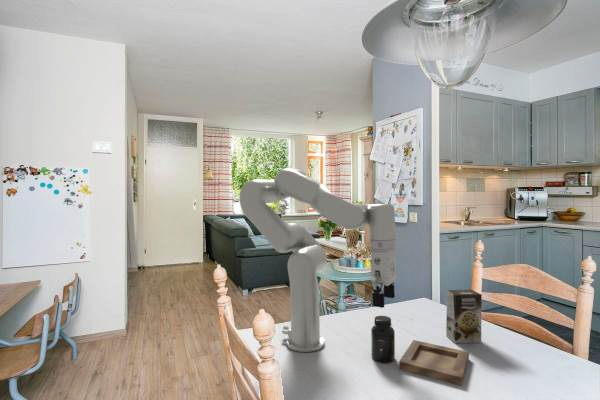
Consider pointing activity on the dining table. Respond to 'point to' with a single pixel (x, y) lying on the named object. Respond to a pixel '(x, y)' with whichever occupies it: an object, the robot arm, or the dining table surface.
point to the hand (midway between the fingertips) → (384, 301)
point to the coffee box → (463, 316)
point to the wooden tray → (435, 362)
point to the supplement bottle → (383, 340)
